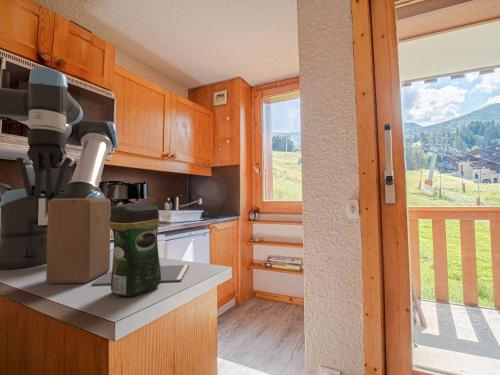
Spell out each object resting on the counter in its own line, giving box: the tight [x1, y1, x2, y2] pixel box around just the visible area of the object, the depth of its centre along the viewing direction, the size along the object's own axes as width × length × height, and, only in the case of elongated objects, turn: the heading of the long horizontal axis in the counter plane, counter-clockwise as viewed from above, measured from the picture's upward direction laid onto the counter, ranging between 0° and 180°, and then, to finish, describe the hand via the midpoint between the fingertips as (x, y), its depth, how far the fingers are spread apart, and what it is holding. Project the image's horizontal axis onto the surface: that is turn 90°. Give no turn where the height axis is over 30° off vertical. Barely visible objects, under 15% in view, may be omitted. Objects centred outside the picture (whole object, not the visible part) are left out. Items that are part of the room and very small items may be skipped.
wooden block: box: [45, 197, 112, 284], centre depth 62 cm, size 10×10×20 cm
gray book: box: [91, 264, 190, 287], centre depth 64 cm, size 13×20×1 cm, turn 96°
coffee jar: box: [110, 202, 162, 297], centre depth 53 cm, size 10×8×19 cm
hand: (45, 224), depth 61 cm, fingers closed
